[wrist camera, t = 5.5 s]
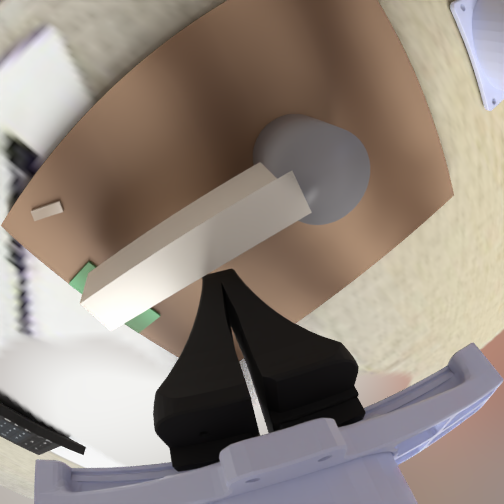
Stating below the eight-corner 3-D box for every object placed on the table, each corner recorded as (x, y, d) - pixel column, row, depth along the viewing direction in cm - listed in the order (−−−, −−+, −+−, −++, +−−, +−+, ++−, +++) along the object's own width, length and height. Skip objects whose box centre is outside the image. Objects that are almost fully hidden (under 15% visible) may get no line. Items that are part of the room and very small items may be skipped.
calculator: (-28, 412, 19) (-33, 434, 16) (1, 380, 17) (-6, 409, 15) (39, 449, 24) (37, 470, 22) (86, 426, 23) (85, 454, 20)
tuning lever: (313, 99, 12) (352, 109, 9) (341, 169, 14) (379, 195, 11) (79, 245, 12) (63, 288, 10) (128, 296, 14) (125, 343, 12)
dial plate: (331, -46, 9) (343, -53, 8) (443, 189, 18) (455, 196, 17) (8, 216, 12) (-1, 227, 11) (211, 365, 21) (214, 378, 20)
